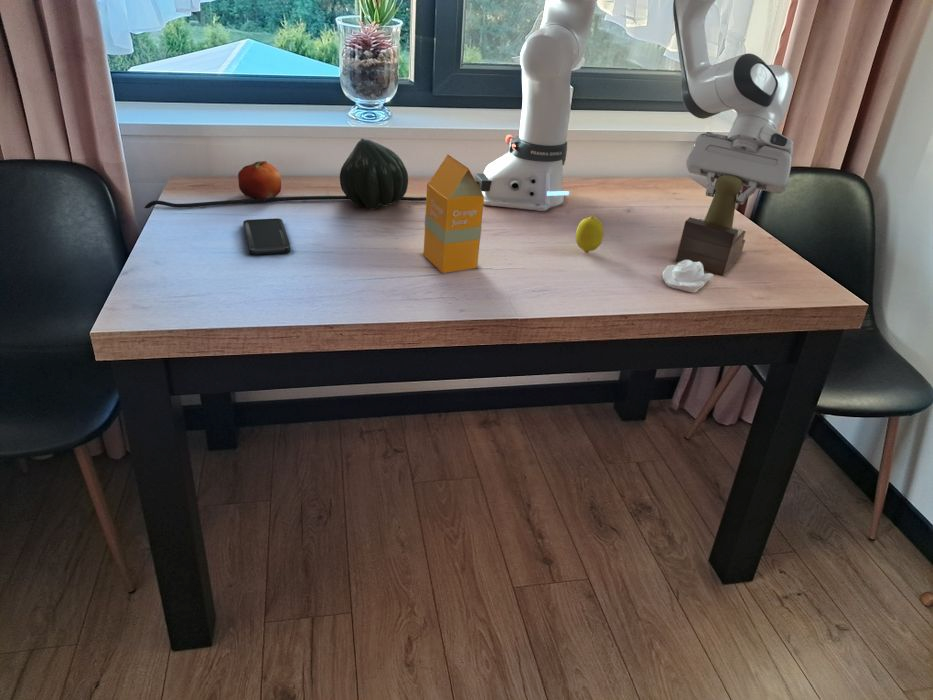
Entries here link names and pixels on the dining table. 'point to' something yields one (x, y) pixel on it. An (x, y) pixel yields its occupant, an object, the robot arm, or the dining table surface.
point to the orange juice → (453, 218)
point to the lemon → (589, 234)
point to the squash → (373, 175)
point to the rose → (686, 276)
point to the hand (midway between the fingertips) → (724, 198)
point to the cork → (724, 201)
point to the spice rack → (710, 245)
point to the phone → (266, 236)
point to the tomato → (259, 180)
